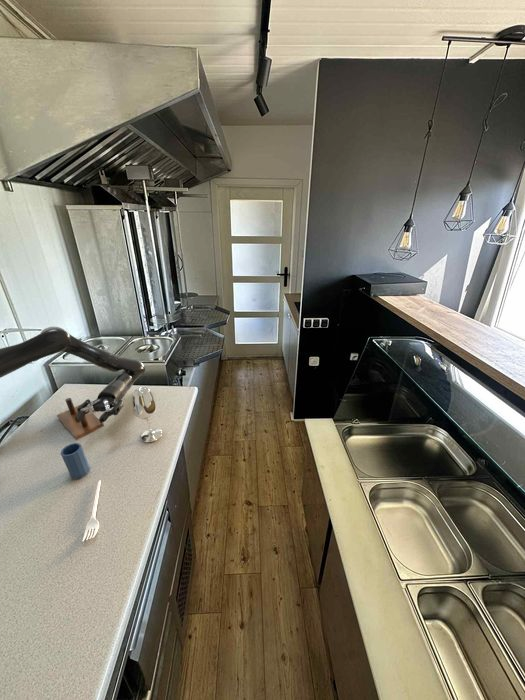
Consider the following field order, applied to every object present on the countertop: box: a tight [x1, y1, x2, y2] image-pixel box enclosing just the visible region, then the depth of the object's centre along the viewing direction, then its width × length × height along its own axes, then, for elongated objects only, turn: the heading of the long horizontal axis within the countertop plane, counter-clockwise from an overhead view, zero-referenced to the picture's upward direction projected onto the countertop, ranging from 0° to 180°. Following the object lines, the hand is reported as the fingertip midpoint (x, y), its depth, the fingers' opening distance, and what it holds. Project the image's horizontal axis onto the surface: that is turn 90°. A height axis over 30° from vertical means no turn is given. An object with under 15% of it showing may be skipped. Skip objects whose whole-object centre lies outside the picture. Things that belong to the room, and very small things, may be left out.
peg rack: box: [56, 397, 105, 441], centre depth 114 cm, size 10×20×8 cm, turn 50°
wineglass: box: [131, 386, 163, 443], centre depth 104 cm, size 8×8×20 cm
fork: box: [82, 479, 102, 542], centre depth 81 cm, size 3×20×2 cm, turn 20°
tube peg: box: [60, 442, 91, 480], centre depth 91 cm, size 5×5×10 cm
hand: (88, 420), depth 97 cm, fingers open, 8 cm apart
